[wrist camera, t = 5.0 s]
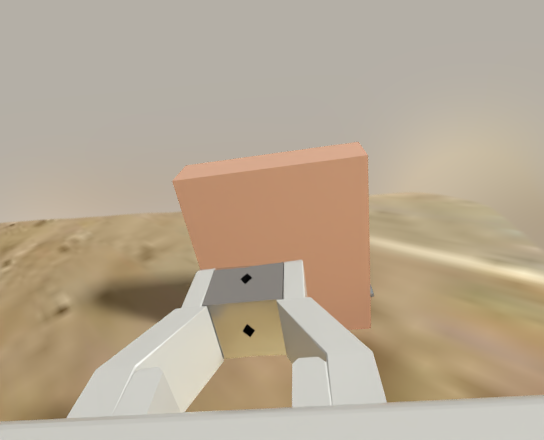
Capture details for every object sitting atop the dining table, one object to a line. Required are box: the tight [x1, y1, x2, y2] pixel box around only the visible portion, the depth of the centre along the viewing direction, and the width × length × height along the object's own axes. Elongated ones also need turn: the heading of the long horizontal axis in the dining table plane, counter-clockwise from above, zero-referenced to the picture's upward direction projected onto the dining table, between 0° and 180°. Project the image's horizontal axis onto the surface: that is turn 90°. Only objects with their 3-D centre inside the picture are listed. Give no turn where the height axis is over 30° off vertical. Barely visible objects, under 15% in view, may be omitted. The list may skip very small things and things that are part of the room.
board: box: [173, 142, 371, 330], centre depth 24 cm, size 3×12×14 cm, turn 87°
